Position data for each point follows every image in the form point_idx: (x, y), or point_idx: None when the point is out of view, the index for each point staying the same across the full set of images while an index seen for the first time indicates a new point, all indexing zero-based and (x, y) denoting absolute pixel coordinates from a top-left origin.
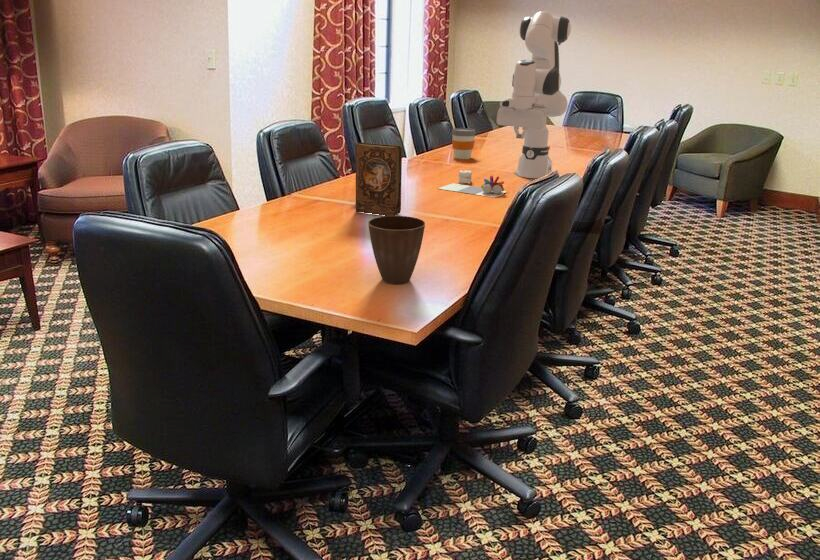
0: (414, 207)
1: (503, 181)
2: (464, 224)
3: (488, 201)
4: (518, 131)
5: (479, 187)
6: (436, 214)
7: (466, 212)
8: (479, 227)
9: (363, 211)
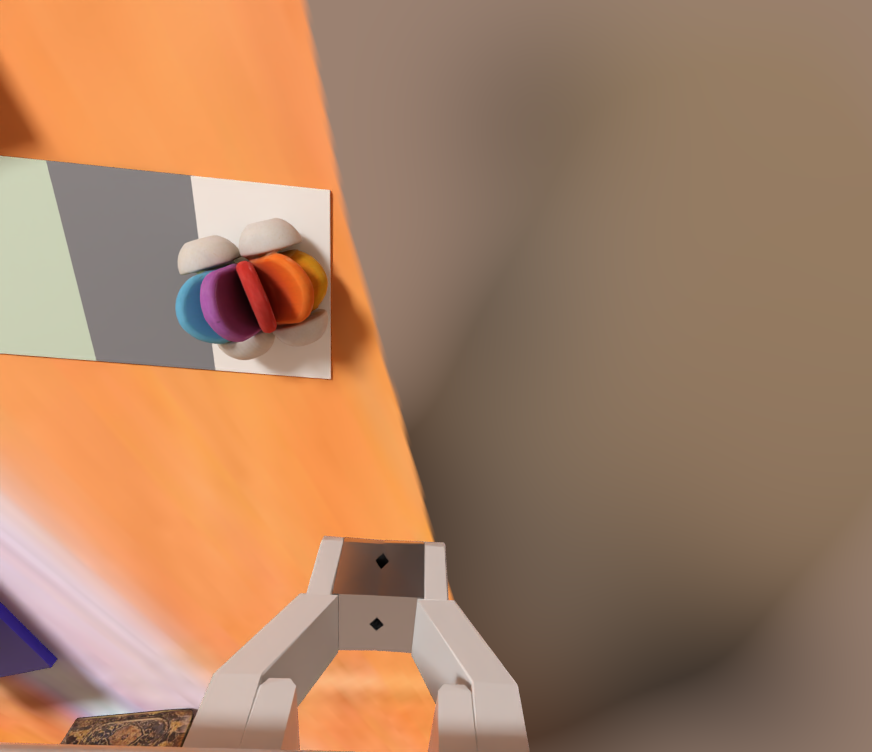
0: (169, 642)
1: (305, 288)
2: (404, 706)
3: (338, 455)
4: (308, 632)
5: (120, 179)
6: None
7: None
8: None
9: None
